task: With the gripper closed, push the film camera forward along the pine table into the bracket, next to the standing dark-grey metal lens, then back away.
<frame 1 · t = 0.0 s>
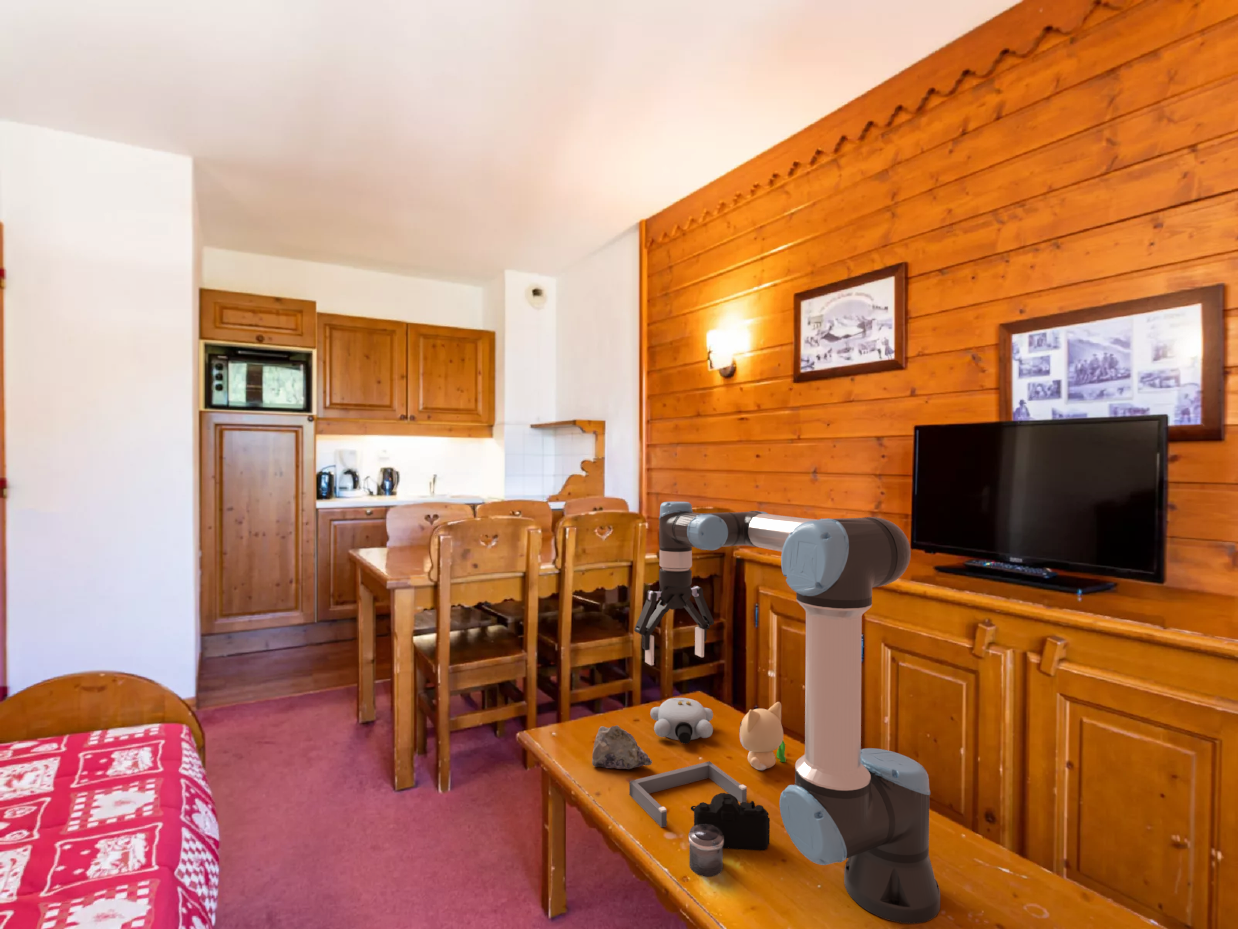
hand: (674, 659, 146), 28 cm above the table, tool pointing down, fingers open, 13 cm apart
mineral rock: (619, 769, 152), on the table
figurine: (682, 734, 172), on the table
lens: (705, 866, 115), on the table
kitten: (762, 765, 154), on the table
bracket: (687, 798, 138), on the table
film camera: (728, 837, 125), on the table
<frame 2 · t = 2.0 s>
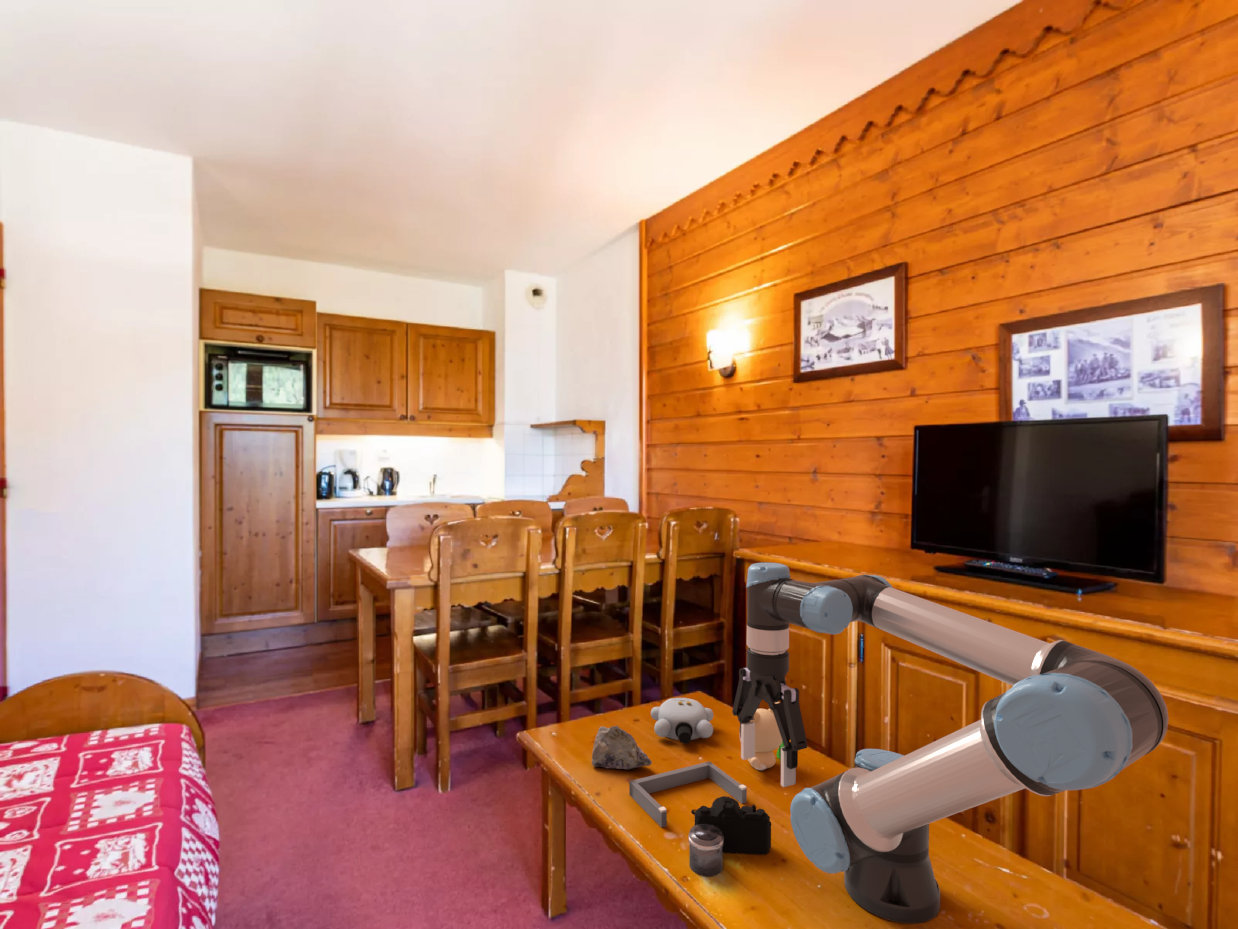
hand: (767, 770, 114), 18 cm above the table, tool pointing down, fingers open, 10 cm apart
film camera: (729, 841, 123), on the table
everything else where it was.
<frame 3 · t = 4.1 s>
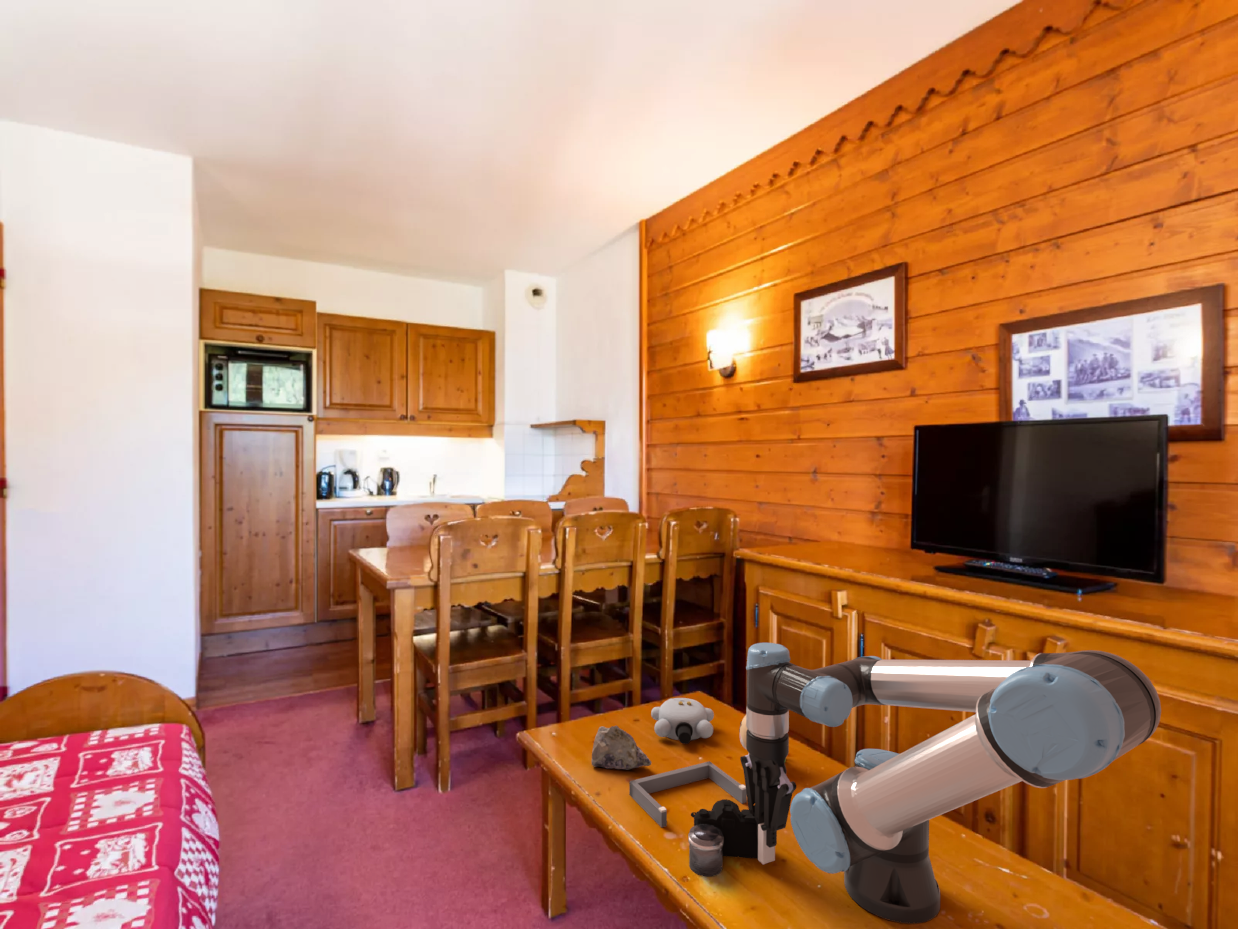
hand: (766, 859, 115), 1 cm above the table, tool pointing down, fingers closed
film camera: (729, 844, 122), on the table, touching gripper
everything else where it was.
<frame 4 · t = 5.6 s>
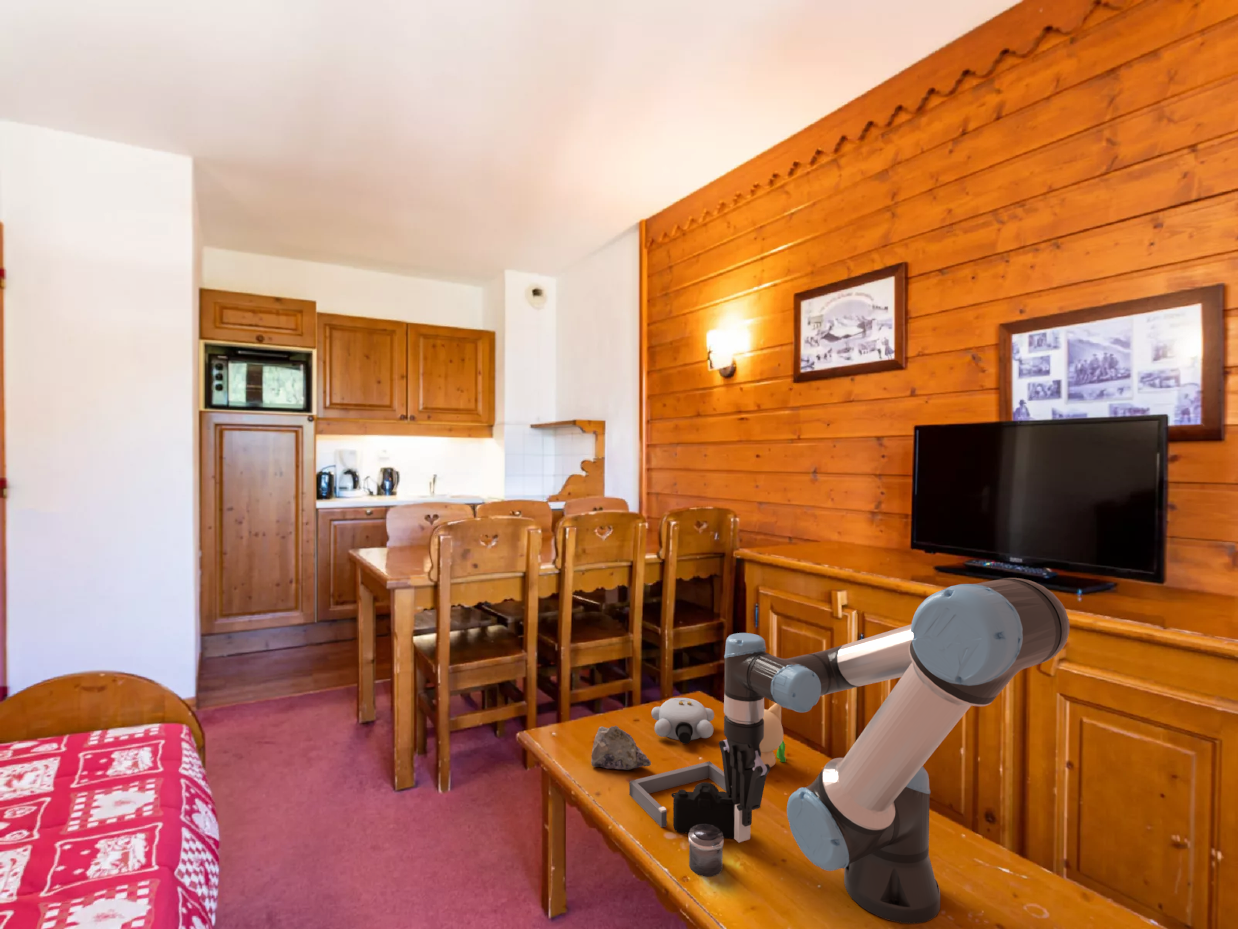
hand: (742, 838, 121), 2 cm above the table, tool pointing down, fingers closed
film camera: (708, 825, 128), on the table, touching gripper
everything else where it was.
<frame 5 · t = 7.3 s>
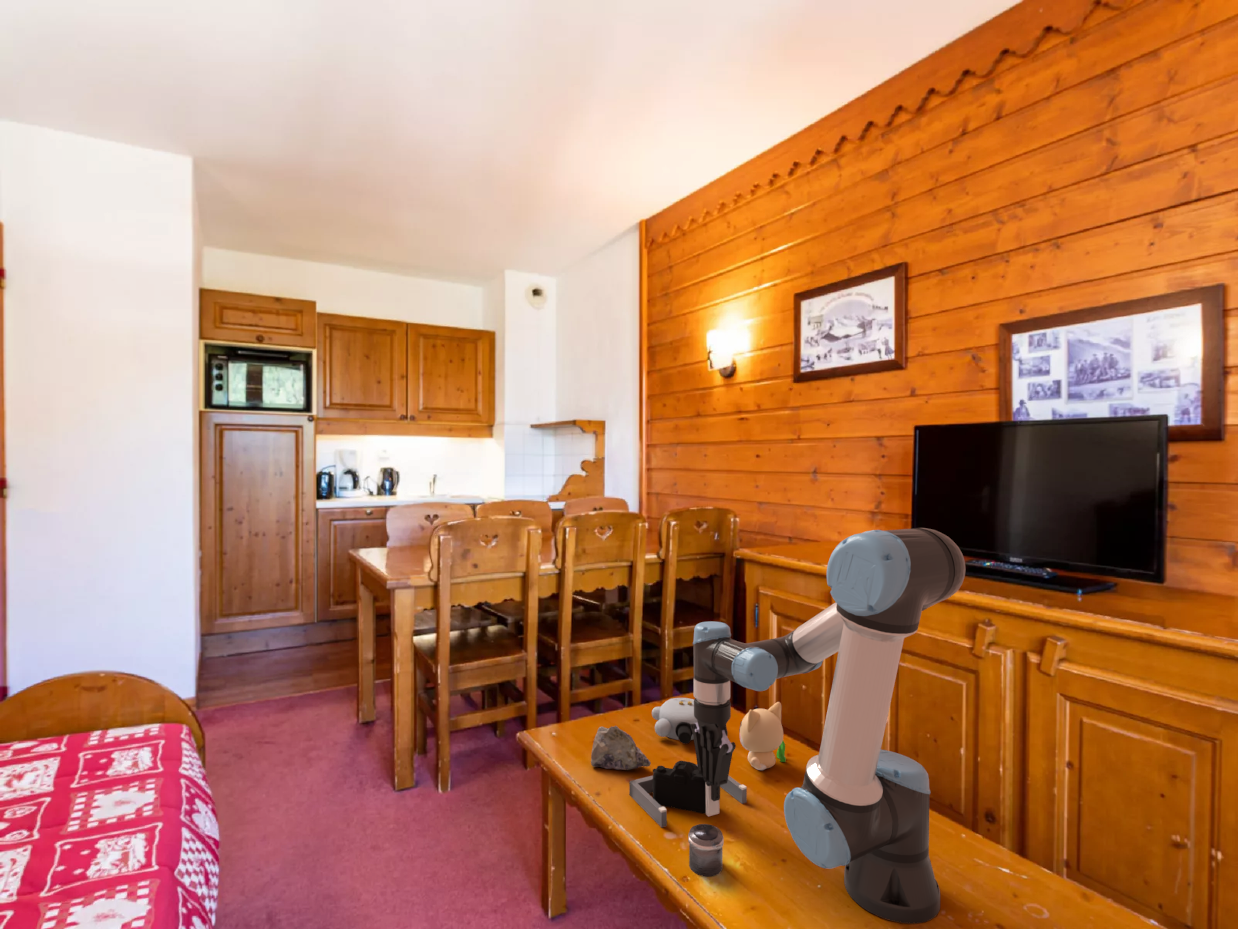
hand: (712, 813, 130), 2 cm above the table, tool pointing down, fingers closed
film camera: (686, 800, 138), on the table, touching bracket, gripper
everything else where it was.
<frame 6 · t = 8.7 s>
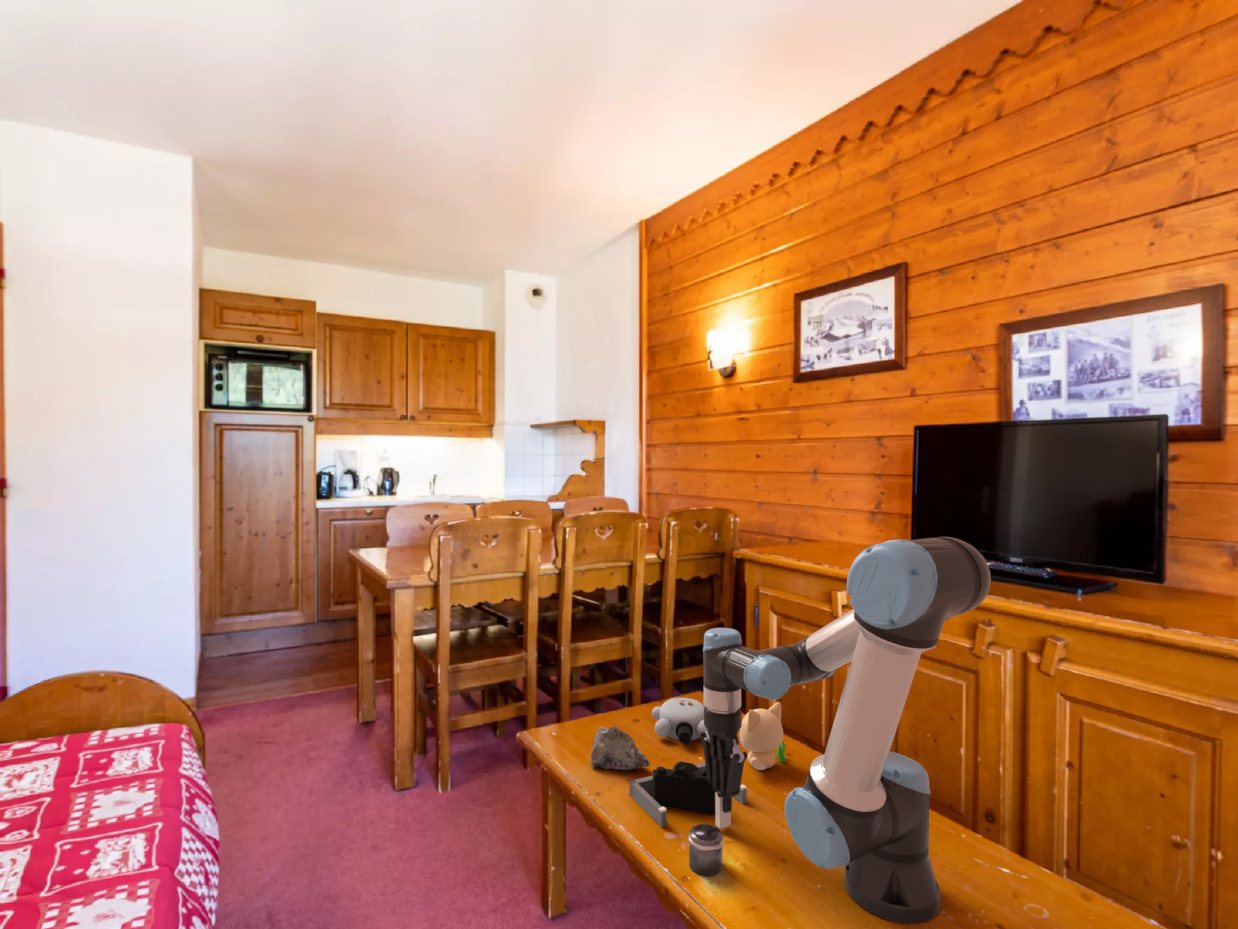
hand: (723, 825, 126), 1 cm above the table, tool pointing down, fingers closed
film camera: (686, 801, 138), on the table
everything else where it was.
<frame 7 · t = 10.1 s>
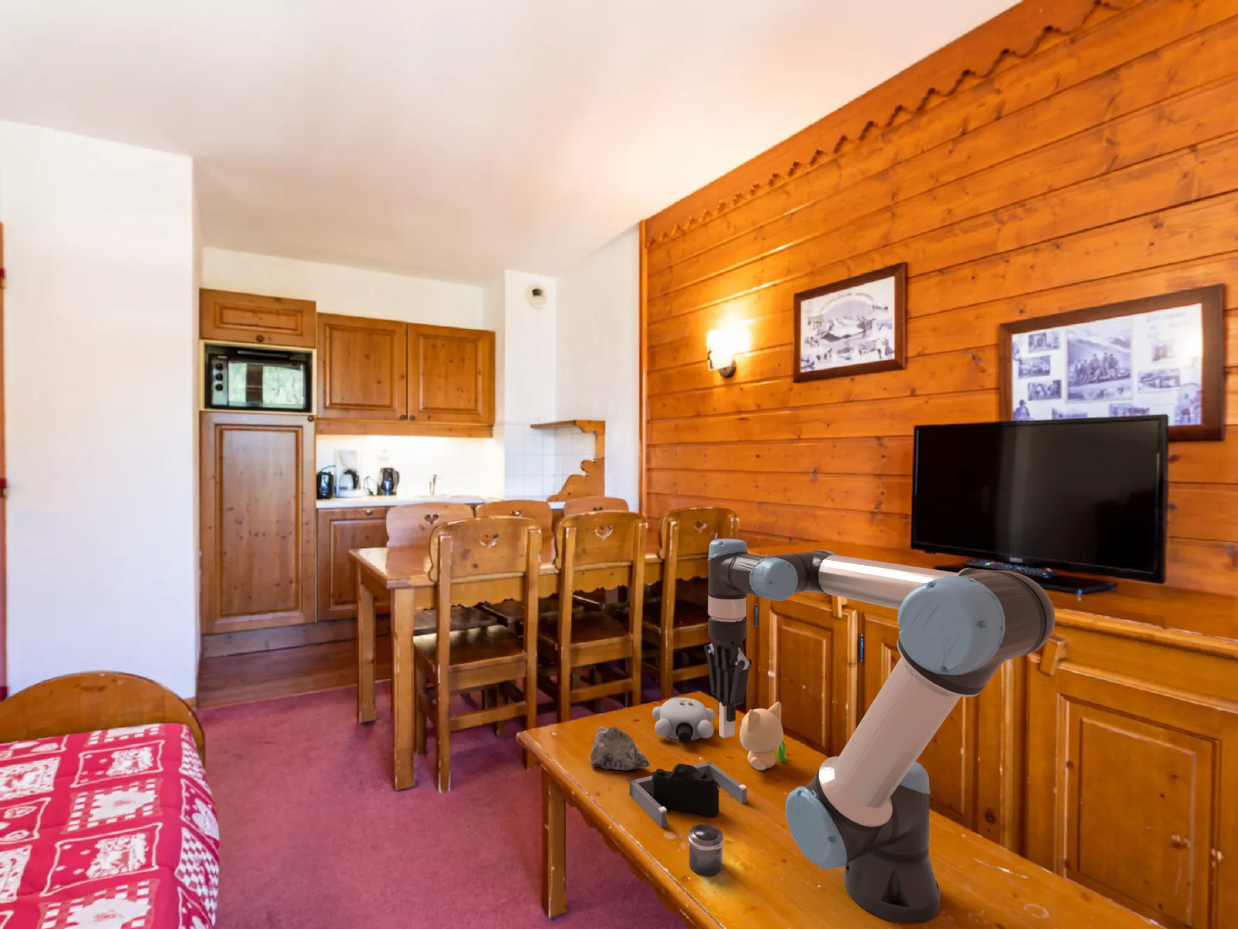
hand: (726, 735, 126), 19 cm above the table, tool pointing down, fingers closed
nothing on the table moved.
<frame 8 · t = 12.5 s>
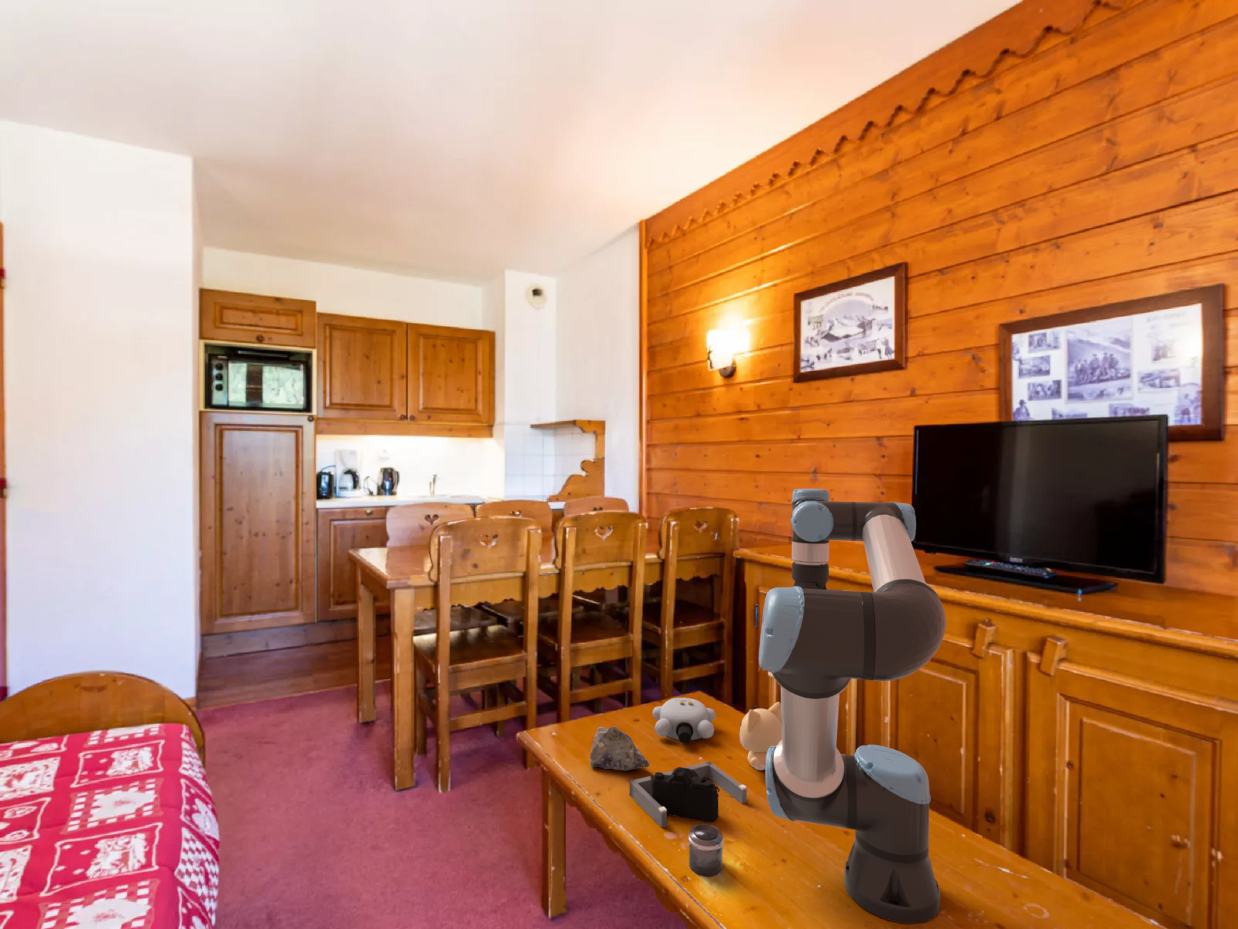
hand: (809, 673, 133), 29 cm above the table, tool pointing down, fingers closed
film camera: (685, 808, 135), on the table
everything else where it was.
at the end: film camera inside the target area on the bracket (3.7 cm from its centre), point 0.0 cm above the bracket's base; film camera tilted 0°; film camera moved 12.6 cm from its start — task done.
